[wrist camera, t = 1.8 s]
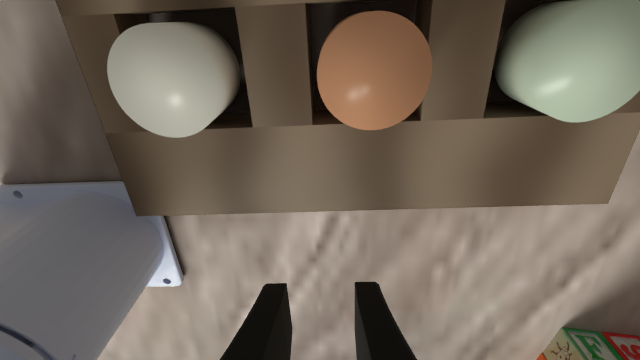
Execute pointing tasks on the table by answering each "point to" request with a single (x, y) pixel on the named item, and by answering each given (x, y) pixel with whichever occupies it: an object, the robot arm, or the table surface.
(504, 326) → the table surface
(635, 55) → the sage button
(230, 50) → the cream button
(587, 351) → the stack of blocks
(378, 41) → the terracotta button
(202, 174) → the panel
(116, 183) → the robot arm
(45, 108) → the table surface
